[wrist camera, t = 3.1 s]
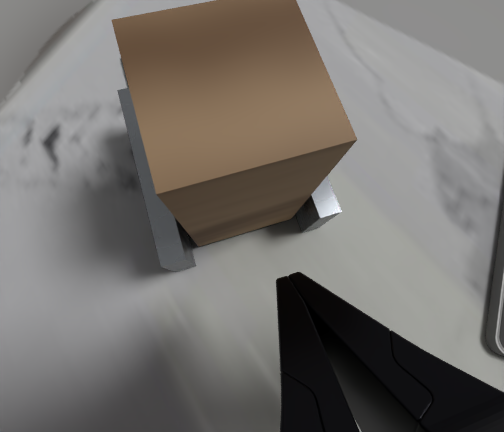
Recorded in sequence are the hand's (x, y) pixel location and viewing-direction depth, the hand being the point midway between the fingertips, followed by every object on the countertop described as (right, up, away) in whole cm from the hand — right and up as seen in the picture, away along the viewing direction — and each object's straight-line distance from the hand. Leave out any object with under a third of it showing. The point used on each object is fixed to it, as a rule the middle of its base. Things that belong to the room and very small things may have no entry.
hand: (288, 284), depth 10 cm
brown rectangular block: (-3, +4, +9) cm, 10 cm away
